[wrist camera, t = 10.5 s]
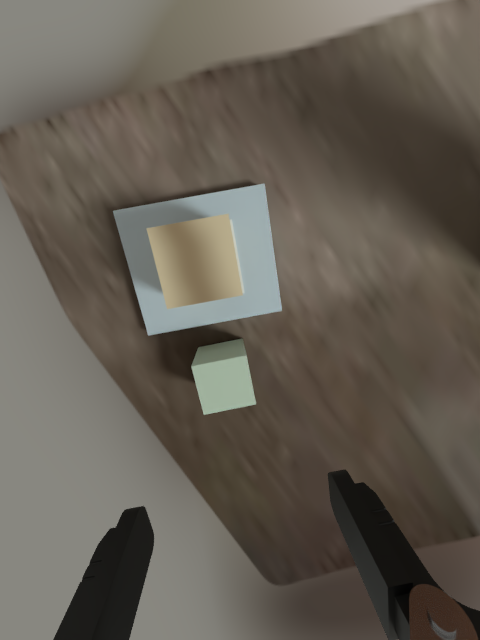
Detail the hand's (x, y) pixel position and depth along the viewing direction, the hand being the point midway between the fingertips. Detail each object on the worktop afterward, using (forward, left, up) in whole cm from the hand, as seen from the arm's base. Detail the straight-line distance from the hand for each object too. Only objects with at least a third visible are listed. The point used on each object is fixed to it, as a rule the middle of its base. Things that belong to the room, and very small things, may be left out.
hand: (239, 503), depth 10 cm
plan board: (+1, -11, -16) cm, 19 cm away
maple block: (+1, -11, -15) cm, 18 cm away
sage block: (+1, 0, -16) cm, 16 cm away
